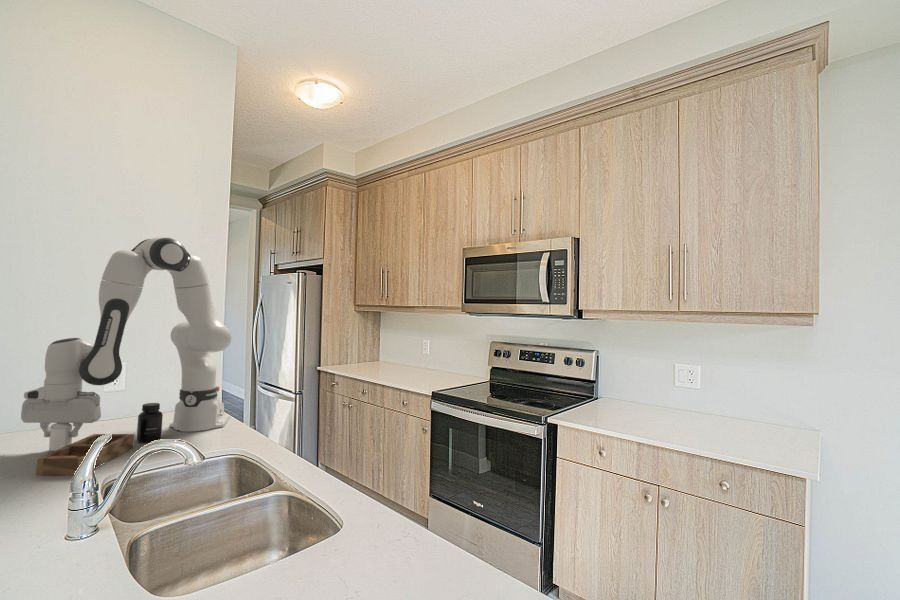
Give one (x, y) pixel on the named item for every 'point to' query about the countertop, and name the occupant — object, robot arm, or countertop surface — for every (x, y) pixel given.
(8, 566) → the countertop surface
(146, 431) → the supplement bottle
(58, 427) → the eye dropper bottle
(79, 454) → the wooden divided tray
